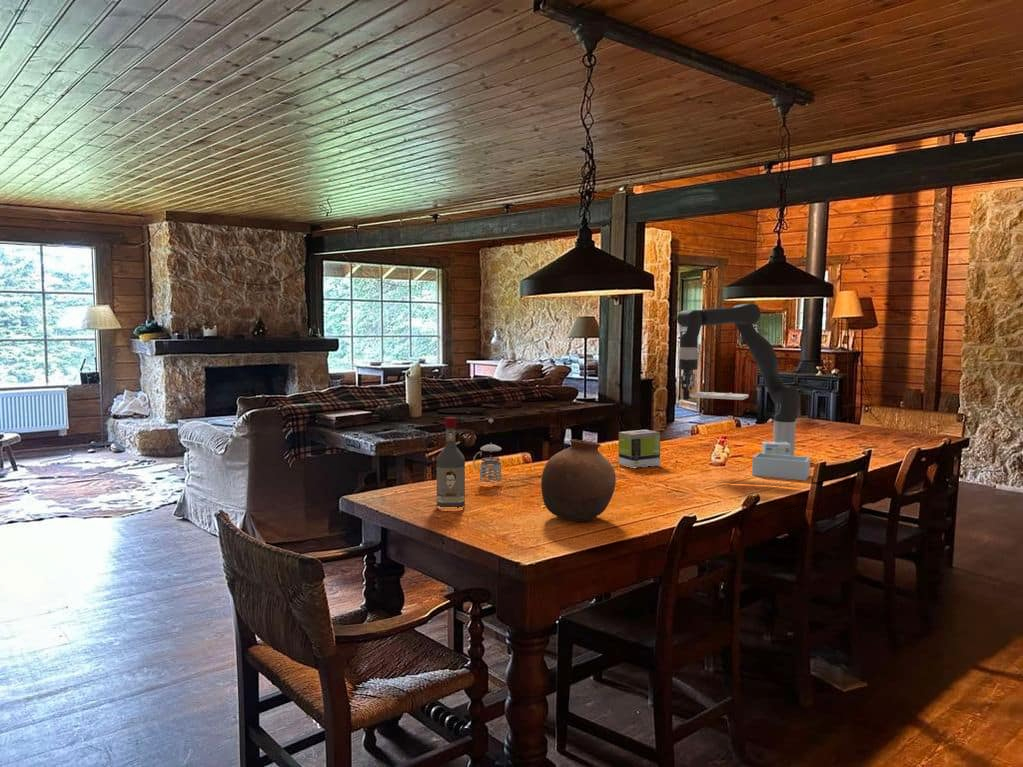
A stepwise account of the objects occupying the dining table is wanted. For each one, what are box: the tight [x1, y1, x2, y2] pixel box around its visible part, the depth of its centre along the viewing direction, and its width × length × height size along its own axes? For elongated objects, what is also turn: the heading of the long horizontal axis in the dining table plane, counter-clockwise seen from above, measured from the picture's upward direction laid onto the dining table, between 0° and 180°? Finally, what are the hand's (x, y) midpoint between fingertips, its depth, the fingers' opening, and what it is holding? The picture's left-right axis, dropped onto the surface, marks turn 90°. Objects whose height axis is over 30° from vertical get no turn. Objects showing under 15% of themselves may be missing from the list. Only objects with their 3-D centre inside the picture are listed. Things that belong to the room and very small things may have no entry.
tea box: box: [618, 429, 661, 469], centre depth 317 cm, size 15×10×15 cm, turn 115°
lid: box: [679, 388, 750, 401], centre depth 306 cm, size 12×26×2 cm, turn 62°
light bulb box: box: [761, 441, 791, 456], centre depth 314 cm, size 11×7×11 cm, turn 84°
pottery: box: [540, 438, 617, 522], centre depth 231 cm, size 23×23×25 cm
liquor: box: [436, 416, 466, 508], centre depth 244 cm, size 9×9×30 cm
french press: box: [472, 418, 502, 483], centre depth 280 cm, size 10×12×25 cm
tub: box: [751, 452, 811, 481], centre depth 295 cm, size 11×20×8 cm, turn 62°
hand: (687, 398), depth 311 cm, fingers closed on lid, 4 cm apart
